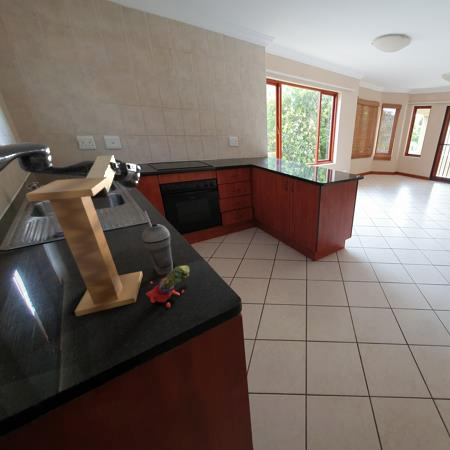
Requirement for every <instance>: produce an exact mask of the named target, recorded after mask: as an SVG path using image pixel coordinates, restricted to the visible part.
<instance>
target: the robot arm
mask: <svg viewBox="0 0 450 450" xmlns="http://www.w3.org/2000/svg"><path fill="white" fill-rule="evenodd" d="M114 159H115V162H116V163H115V162H110V165H111V169H113V170H116V172H115V175H114V178H113V181H112V182H117V183H118V184H119V185H121V186H123V187H125V188H129V189H134V188H137V187H138V186H139V184H140V177H141V167H140V165H138V164H136V163H134V162H125V161H122V160H120V159H117V158H114ZM14 160H16V163H17V166H18V168H19V169H20V170H21V171H23V172H27V173H31V174H39V175H53V176H54V175H55V176H73V177H75V176H76V177H85V178H86V177H87V175H88V173H89V171H90V170H91V168H92V166H93V164H94V162H95V159H94V160H93V159H84V160H80V161H76V162H73V163H70V164H67V165H60V166H59V165H54V163H53V156H52V151H51V149H50V147H49V146H48V145H47V144H45V143H42V142H37V141H22V142H16V143H9V144H4V145H0V173H1V172H2V171H3V170H4V169H6V168H7V167H8V166H9V165H10V164H11V163H12V162H13V161H14Z"/></svg>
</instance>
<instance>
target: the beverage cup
mask: <svg viewBox="0 0 450 450" xmlns="http://www.w3.org/2000/svg"><path fill="white" fill-rule="evenodd" d="M143 213H144V215H145V217H146V220H147V222H148V224H149V225H148V226H146V227H145V228H144V229H143V231H142V235H141V241H142V243H143V244H144V246H145V248H146V251H147V252H148V255H149V257H150V260H151V262H152V265H153V267H154V269H155V272H156V274H157V275H158V276H159V275H160V276H163V275H168V274H169V273H170V272H172V271H173V270H174V263H173V254H172V247H171V233H170V231H169V229H168V228H167V227H166V226H165V225H162V224H159V223H152V222H151V220H150V218H149V215H148V213H147V211H146V210H144V211H143Z"/></svg>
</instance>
